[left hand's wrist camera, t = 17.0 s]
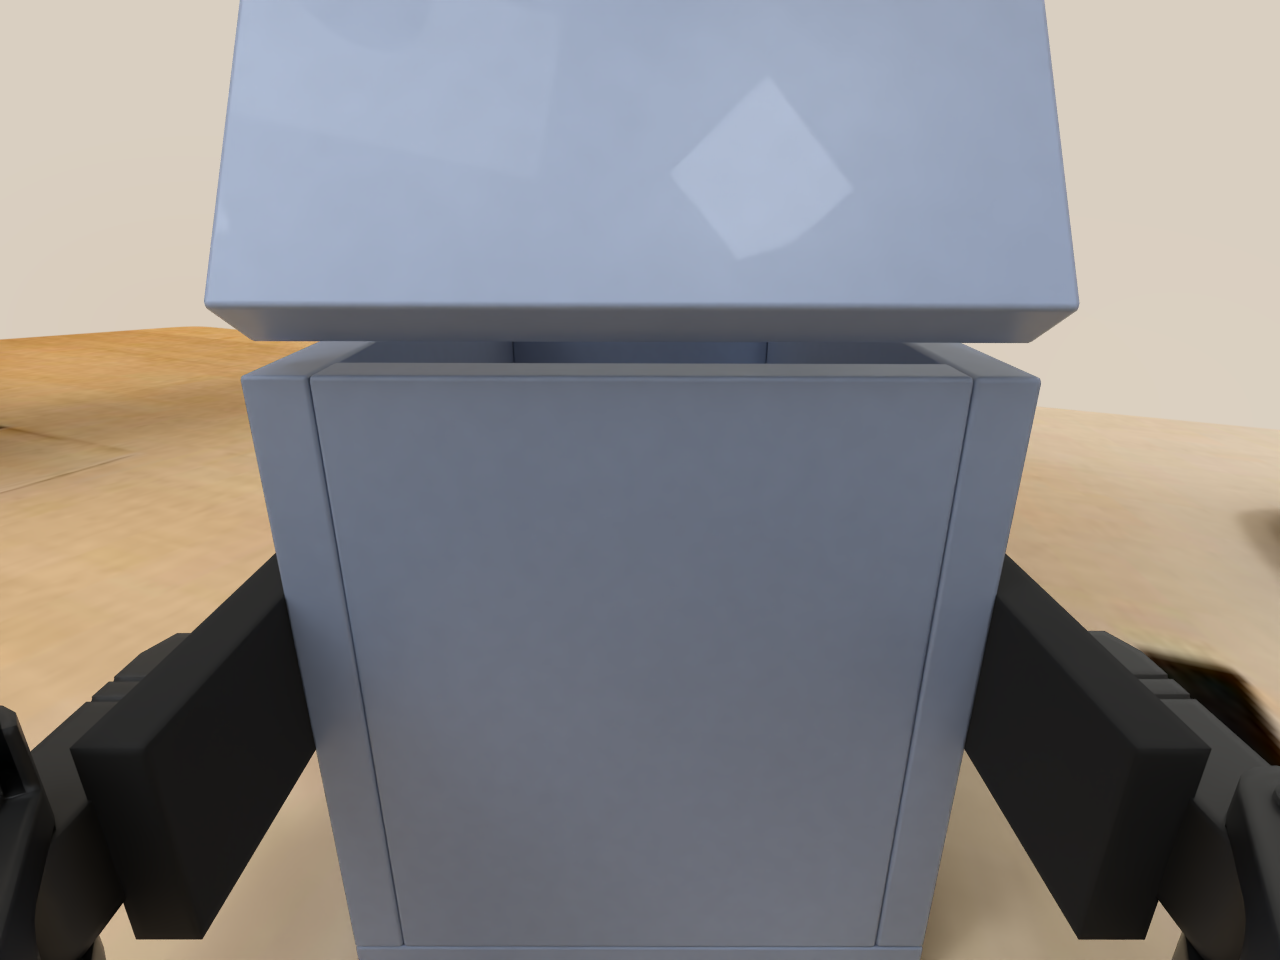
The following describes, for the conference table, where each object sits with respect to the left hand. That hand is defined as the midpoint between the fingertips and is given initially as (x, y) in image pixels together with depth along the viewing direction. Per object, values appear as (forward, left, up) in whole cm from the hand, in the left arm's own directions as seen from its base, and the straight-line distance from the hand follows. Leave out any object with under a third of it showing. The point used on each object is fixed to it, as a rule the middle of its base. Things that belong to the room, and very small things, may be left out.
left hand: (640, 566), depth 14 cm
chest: (+4, -2, -6) cm, 8 cm away
